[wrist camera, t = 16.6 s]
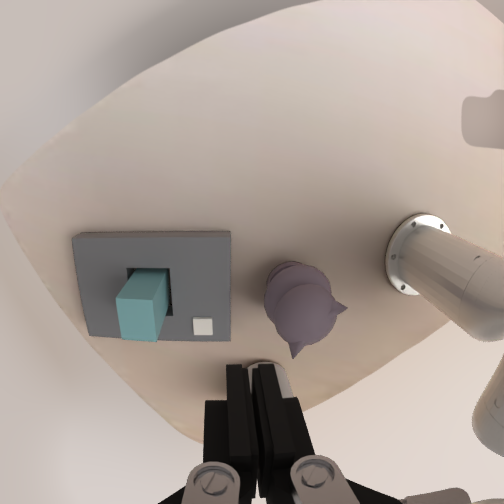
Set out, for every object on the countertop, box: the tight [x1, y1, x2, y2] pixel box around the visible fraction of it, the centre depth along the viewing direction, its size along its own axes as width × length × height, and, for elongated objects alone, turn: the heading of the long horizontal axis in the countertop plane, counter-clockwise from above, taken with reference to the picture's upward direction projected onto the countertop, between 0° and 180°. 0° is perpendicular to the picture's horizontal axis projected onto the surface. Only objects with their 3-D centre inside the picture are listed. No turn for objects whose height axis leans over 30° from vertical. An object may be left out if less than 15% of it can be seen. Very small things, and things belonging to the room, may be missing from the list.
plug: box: [116, 268, 170, 342], centre depth 35 cm, size 4×5×10 cm
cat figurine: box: [264, 262, 347, 359], centre depth 35 cm, size 9×8×12 cm
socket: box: [72, 231, 231, 341], centre depth 38 cm, size 20×14×4 cm
